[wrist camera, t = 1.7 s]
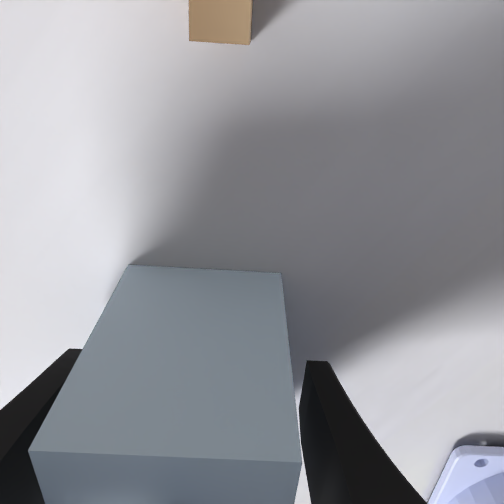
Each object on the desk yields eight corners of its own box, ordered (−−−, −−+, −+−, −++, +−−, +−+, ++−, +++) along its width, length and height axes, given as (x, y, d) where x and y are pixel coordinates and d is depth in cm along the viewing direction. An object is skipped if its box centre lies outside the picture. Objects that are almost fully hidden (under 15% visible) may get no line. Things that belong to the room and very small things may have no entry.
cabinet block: (280, 272, 12) (308, 528, 6) (265, 410, 15) (273, 678, 9) (128, 263, 12) (-7, 515, 6) (143, 404, 15) (63, 672, 9)
